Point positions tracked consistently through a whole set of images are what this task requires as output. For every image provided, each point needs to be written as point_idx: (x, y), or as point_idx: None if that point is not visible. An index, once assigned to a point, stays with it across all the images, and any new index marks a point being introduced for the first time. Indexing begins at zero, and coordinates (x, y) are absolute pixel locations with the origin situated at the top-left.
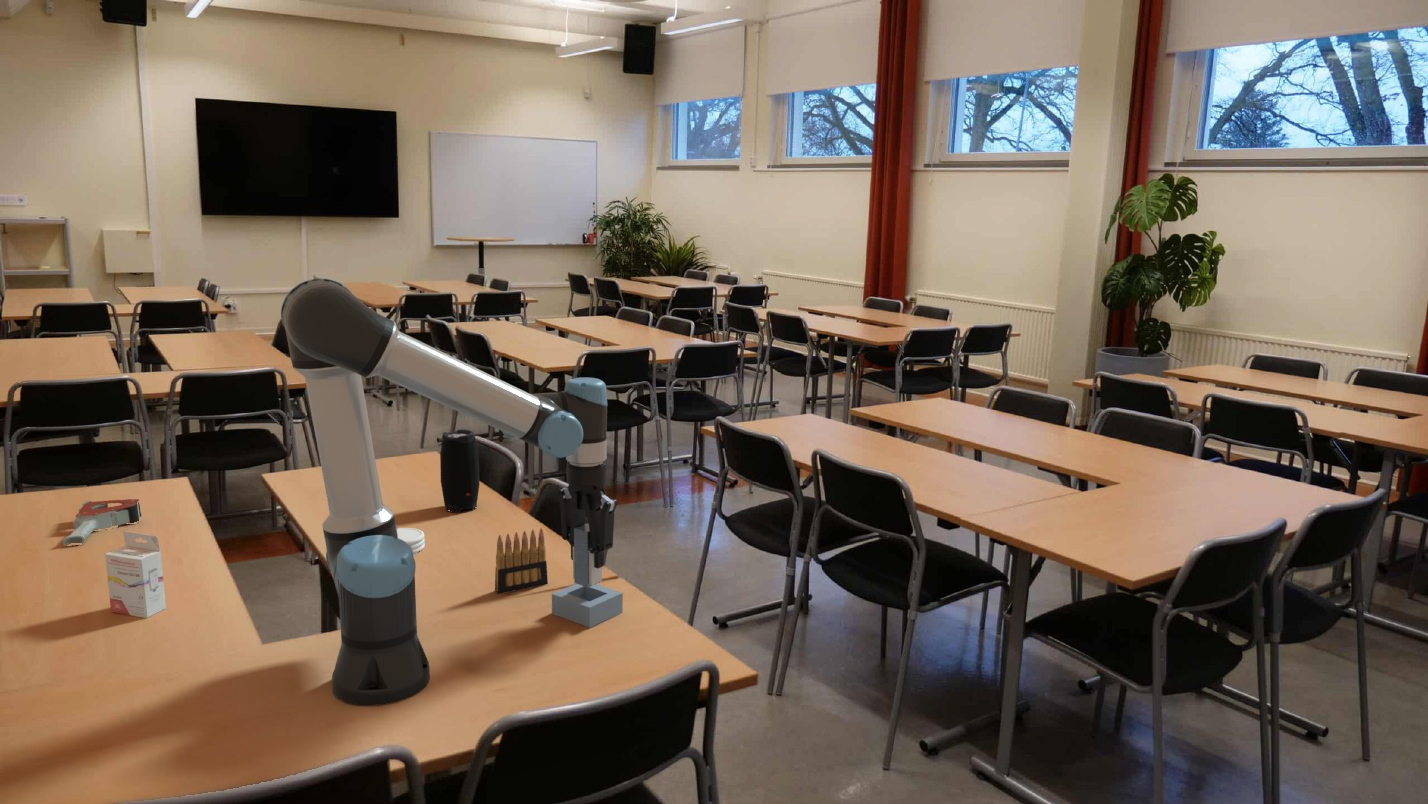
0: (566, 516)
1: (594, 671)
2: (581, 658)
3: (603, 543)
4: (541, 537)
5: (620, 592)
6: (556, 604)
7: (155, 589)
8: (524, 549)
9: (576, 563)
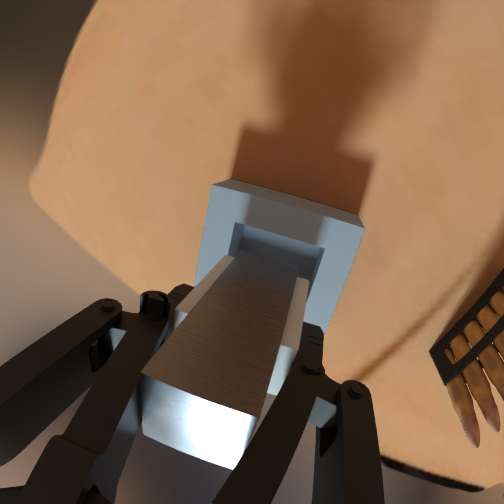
0: (340, 493)
1: (130, 32)
2: (171, 50)
3: (80, 313)
4: (470, 425)
5: None
6: (344, 216)
7: None
8: (501, 373)
9: (279, 296)
